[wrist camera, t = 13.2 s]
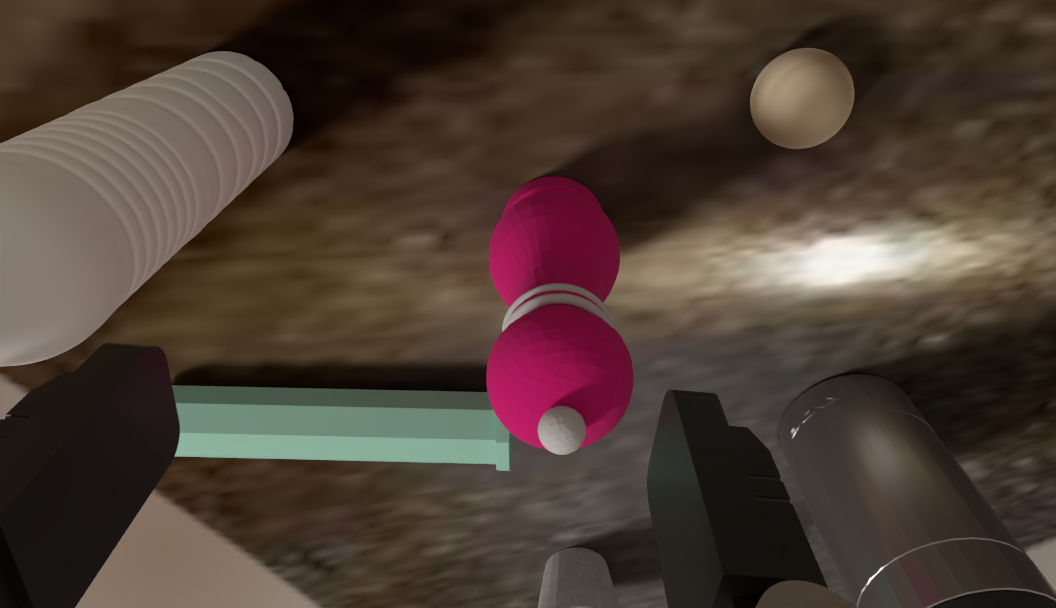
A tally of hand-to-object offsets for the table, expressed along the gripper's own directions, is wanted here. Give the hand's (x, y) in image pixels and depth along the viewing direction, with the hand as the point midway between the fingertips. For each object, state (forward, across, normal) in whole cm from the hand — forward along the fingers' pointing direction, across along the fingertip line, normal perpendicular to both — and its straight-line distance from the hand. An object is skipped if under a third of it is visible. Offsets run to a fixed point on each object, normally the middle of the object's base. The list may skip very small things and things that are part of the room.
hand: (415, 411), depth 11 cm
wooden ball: (+30, -16, 0) cm, 34 cm away
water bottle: (+30, +15, +5) cm, 34 cm away
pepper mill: (+30, -4, +9) cm, 32 cm away
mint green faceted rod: (+31, +10, +24) cm, 40 cm away
